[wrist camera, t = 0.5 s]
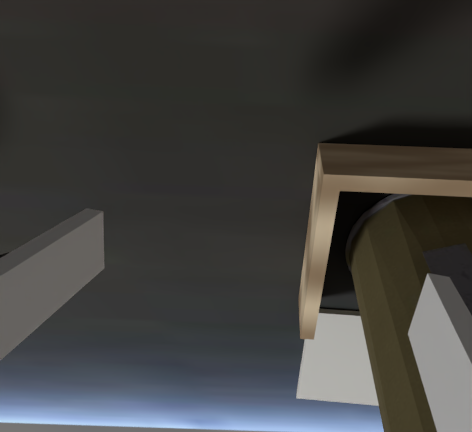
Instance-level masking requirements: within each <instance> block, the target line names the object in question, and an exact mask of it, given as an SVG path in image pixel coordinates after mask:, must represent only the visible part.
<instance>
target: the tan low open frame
mask: <svg viewBox="0 0 472 432" xmlns="http://www.w3.org/2000/svg"><path fill="white" fill-rule="evenodd" d="M340 191H352V192H373V193H394V194H415V195H436V196H457V197H472V149H464V148H438V147H412V146H385V145H359V144H332V143H318V150H317V158H316V166H315V174H314V182H313V190H312V197H311V205H310V213H309V221H308V229H307V237H306V245H305V253H304V261H303V268H302V276H301V284H300V292H299V319H300V339H312V340H314V336H315V330H316V325H317V319H318V313H319V307H320V301H321V296H322V290H323V284H324V278H325V273H326V267H327V261H328V255H329V250H330V244H331V238H332V232H333V227H334V221H335V215H336V209H337V204H338V198H339V192H340Z"/></svg>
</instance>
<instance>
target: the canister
mask: <svg viewBox="0 0 472 432" xmlns="http://www.w3.org/2000/svg"><path fill="white" fill-rule="evenodd" d="M345 256H346V262H347V265H348V268H349V271H350V272H351V273H352V277H353V281H354V286H355V291H356V296H357V301H358V306H359V311H360V316H361V321H362V326H363V330H364V335H365V340H366V345H367V350H368V355H369V360H370V365H371V370H372V375H373V379H374V384H375V389H376V394H377V399H378V404H379V409H380V414H381V419H382V424H383V428H384V432H437V430H436V426H435V423H434V420H433V416H432V413H431V409H430V406H429V403H428V399H427V396H426V393H425V389H424V386H423V383H422V379H421V376H420V373H419V369H418V366H417V363H416V359H415V356H414V353H413V349H412V346H411V342H410V339H409V336H408V331H409V328H410V325H411V322H412V319H413V316H414V313H415V310H416V307H417V304H418V301H419V298H420V295H421V292H422V288H423V285H424V282H425V279H426V276H427V273H431V274H436V275H441V276H447V277H450V279H451V281H452V282H453V284H454V286H455V287H456V289H457V291H458V293H459V294H460V296H461V298H462V300H463V301H464V303H465V305H466V306H467V308H468V310H469V312H470V313H471V315H472V197H457V196H436V195H415V194H392V195H390V196H388V197H386V198H384V199H382V200H380V201H379V202H377V203H376V204H374V205H373V206H372V207H371V208H369V209H368V210H367V211H365V212H364V213H363V214H362V215H361V216H360V218H359V219H358V220H357V221H356V223H355V224H354V225H353V227H352V229H351V231H350V233H349V236H348V239H347V243H346V249H345Z"/></svg>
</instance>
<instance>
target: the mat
mask: <svg viewBox="0 0 472 432" xmlns="http://www.w3.org/2000/svg"><path fill="white" fill-rule="evenodd" d="M297 398H300V399H311V400H322V401H333V402H344V403H355V404H366V405H377V406H379V404H378V399H377V394H376V389H375V384H374V379H373V375H372V370H371V365H370V360H369V355H368V350H367V345H366V340H365V335H364V330H363V326H362V321H361V316H360V311H347V310H333V309H319V313H318V319H317V325H316V330H315V336H314V340H312V339H305V341H304V348H303V354H302V361H301V367H300V374H299V380H298V387H297Z"/></svg>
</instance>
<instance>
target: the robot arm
mask: <svg viewBox="0 0 472 432" xmlns="http://www.w3.org/2000/svg"><path fill="white" fill-rule="evenodd" d="M103 269H104V232H103V211H98V210H93V209H88V208H86V209H85V210H83V211H81V212H79V213H78V214H76V215H74V216H72V217H71V218H69V219H67V220H66V221H64V222H62V223H60V224H59V225H57V226H55V227H53V228H52V229H50V230H48V231H46V232H45V233H43V234H41V235H39V236H38V237H36V238H34V239H33V240H31V241H29V242H27V243H26V244H24V245H22V246H20V247H19V248H17V249H15V250H13V251H12V252H10V253H9V252H8V253H5V254H2V255H0V360H1V359H3V358H4V357H5V356H6V355H7V354H8V353H9V352H10V351H12V350H13V349H14V348H15V347H16V346H17V345H18V344H19V343H21V342H22V341H23V340H24V339H25V338H26V337H27V336H28V335H30V334H31V333H32V332H33V331H34V330H35V329H36V328H37V327H39V326H40V325H41V324H42V323H43V322H44V321H45V320H46V319H48V318H49V317H50V316H51V315H52V314H53V313H54V312H55V311H57V310H58V309H59V308H60V307H61V306H62V305H63V304H64V303H66V302H67V301H68V300H69V299H70V298H71V297H72V296H73V295H75V294H76V293H77V292H78V291H79V290H80V289H81V288H83V287H84V286H85V285H86V284H87V283H88V282H89V281H90V280H92V279H93V278H94V277H95V276H96V275H97V274H98V273H99V272H101V271H102V270H103ZM408 336H409V339H410V342H411V346H412V349H413V353H414V356H415V359H416V363H417V366H418V369H419V373H420V376H421V379H422V383H423V386H424V389H425V393H426V396H427V399H428V403H429V406H430V409H431V413H432V416H433V420H434V423H435V426H436V430H437V432H472V315H471V313H470V312H469V310H468V308H467V306H466V305H465V303H464V301H463V300H462V298H461V296H460V294H459V293H458V291H457V289H456V287H455V286H454V284H453V282H452V281H451V279H450V277H447V276H441V275H436V274H431V273H427V276H426V279H425V282H424V285H423V288H422V292H421V295H420V298H419V301H418V304H417V307H416V310H415V313H414V316H413V319H412V322H411V325H410V328H409V331H408Z"/></svg>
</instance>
